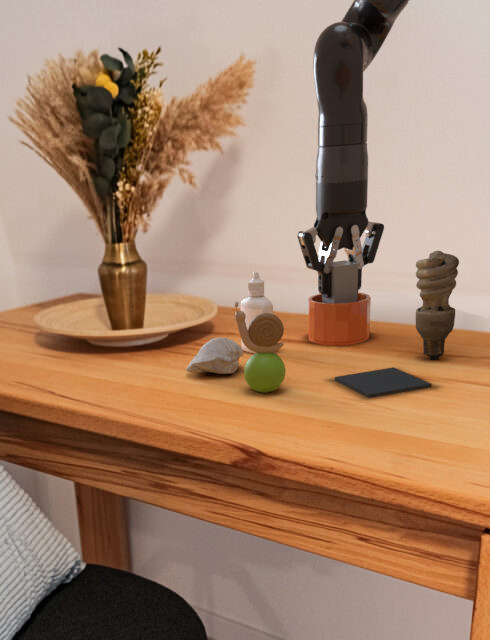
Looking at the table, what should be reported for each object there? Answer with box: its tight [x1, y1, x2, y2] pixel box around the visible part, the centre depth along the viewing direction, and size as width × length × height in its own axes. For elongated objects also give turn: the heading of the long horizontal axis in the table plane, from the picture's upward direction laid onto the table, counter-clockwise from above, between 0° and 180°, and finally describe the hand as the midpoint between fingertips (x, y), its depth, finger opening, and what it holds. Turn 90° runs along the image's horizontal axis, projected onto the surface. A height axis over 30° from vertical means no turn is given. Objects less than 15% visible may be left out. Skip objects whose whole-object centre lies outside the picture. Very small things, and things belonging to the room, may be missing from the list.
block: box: [322, 259, 358, 303], centre depth 132 cm, size 4×4×10 cm
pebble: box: [185, 336, 244, 375], centre depth 121 cm, size 9×8×5 cm
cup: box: [307, 292, 372, 346], centre depth 133 cm, size 9×9×6 cm
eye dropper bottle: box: [239, 271, 274, 354], centre depth 128 cm, size 4×6×12 cm
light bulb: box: [415, 250, 460, 361], centre depth 116 cm, size 6×6×15 cm
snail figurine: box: [234, 301, 287, 394], centre depth 109 cm, size 5×6×12 cm
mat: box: [334, 367, 432, 399], centre depth 111 cm, size 9×9×1 cm
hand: (339, 294), depth 131 cm, fingers closed on block, 4 cm apart
